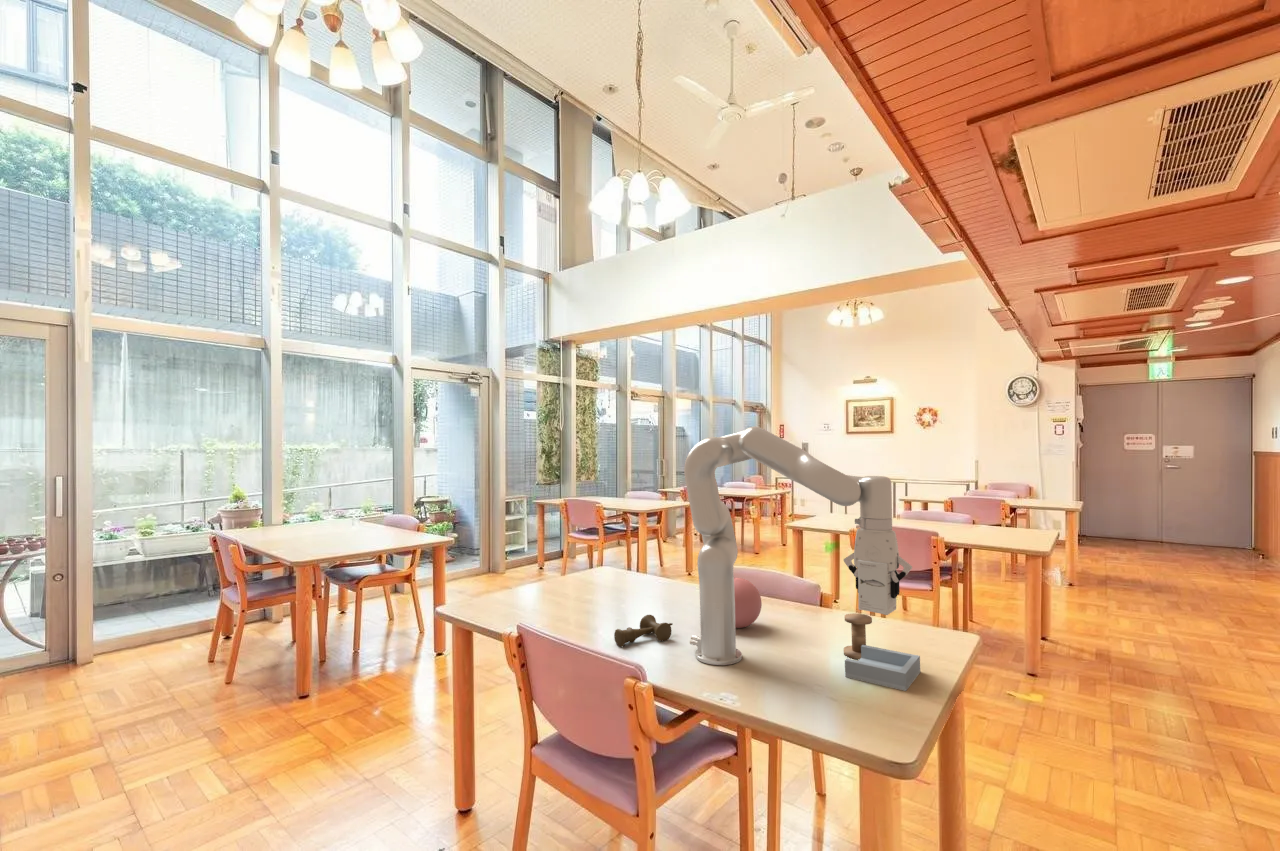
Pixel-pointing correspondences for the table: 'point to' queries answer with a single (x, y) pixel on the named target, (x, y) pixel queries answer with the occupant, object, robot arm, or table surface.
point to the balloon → (746, 603)
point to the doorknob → (857, 634)
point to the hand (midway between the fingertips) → (877, 594)
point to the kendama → (643, 631)
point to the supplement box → (875, 587)
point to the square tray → (884, 667)
